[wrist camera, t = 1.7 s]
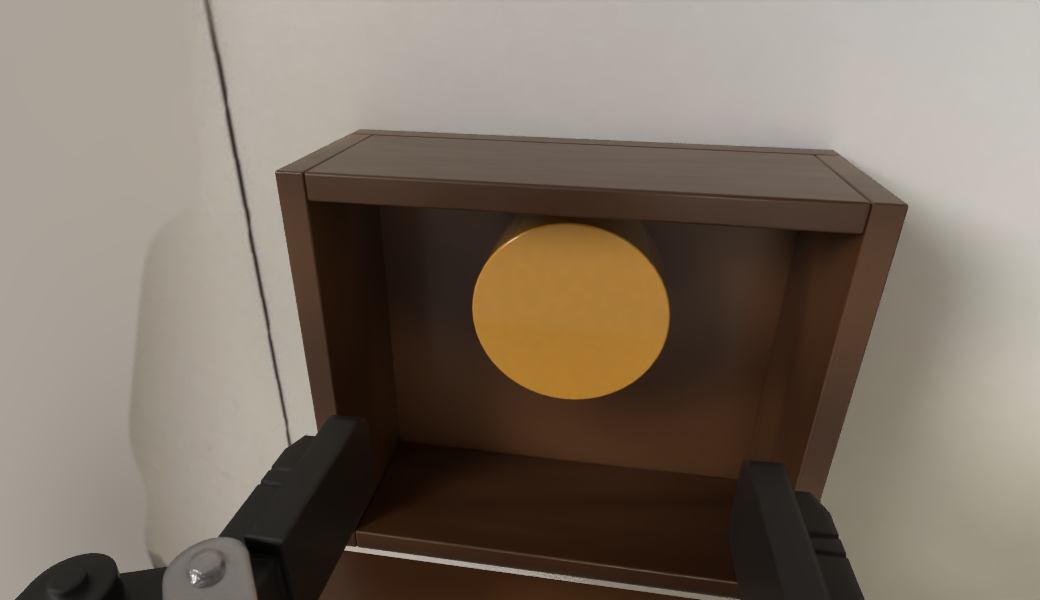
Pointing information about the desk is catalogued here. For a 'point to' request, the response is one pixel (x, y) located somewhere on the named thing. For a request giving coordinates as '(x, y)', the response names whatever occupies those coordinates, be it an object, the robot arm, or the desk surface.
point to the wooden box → (597, 421)
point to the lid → (454, 583)
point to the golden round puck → (573, 304)
